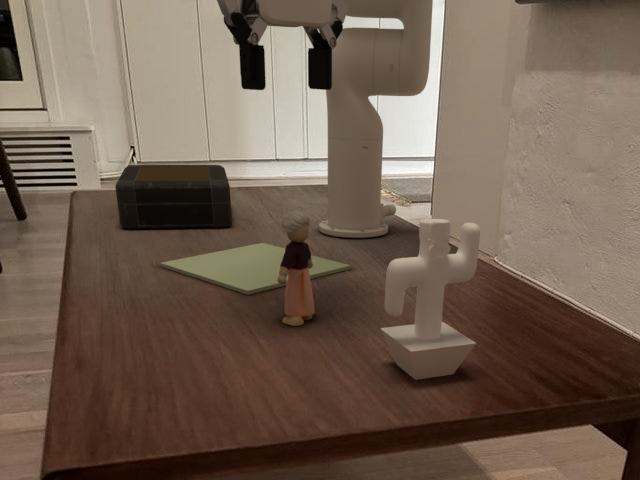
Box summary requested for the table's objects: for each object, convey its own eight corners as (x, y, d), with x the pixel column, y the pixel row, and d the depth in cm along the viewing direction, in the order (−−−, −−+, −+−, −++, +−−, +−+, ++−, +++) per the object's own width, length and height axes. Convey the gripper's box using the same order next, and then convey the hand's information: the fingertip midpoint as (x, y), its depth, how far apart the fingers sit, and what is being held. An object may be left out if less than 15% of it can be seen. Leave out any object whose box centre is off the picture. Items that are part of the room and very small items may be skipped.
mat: (262, 246, 122) (262, 242, 122) (350, 269, 111) (350, 265, 111) (160, 266, 109) (160, 262, 109) (248, 295, 98) (247, 290, 98)
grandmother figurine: (306, 330, 86) (304, 217, 80) (274, 327, 87) (270, 215, 80) (322, 311, 93) (322, 205, 86) (292, 308, 93) (290, 203, 87)
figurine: (369, 362, 78) (374, 214, 70) (447, 352, 81) (460, 209, 73) (398, 388, 72) (407, 229, 64) (482, 376, 75) (499, 223, 68)
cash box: (126, 204, 151) (121, 164, 147) (226, 203, 155) (224, 164, 151) (116, 230, 130) (110, 183, 126) (232, 228, 134) (229, 183, 130)
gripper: (320, -92, 79) (320, 87, 88) (187, -121, 68) (202, 88, 77) (372, -100, 75) (367, 90, 83) (238, -132, 64) (248, 91, 72)
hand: (288, 89), depth 80 cm, fingers open, 9 cm apart
